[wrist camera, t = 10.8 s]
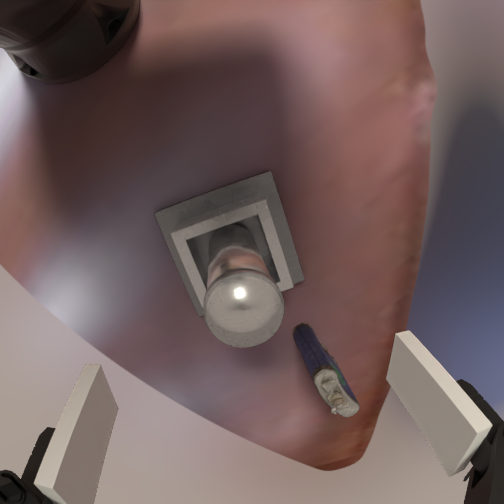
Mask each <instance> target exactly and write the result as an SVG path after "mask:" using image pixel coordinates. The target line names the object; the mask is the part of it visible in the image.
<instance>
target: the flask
mask: <svg viewBox="0 0 504 504" xmlns="http://www.w3.org/2000/svg"><path fill="white" fill-rule="evenodd" d="M293 336H294V340H295V342H296V344H297V347H299V350H300V351H301V354H302V356H303V358H304V361H305V363H306V365H307V368H308V370H309V372H310V374H311V377H312V380H313V382H314V385H315V387H316V389H317V391H318V393H319V395H320V396H321V398H322V399H323V400H324V402H325V403H326V404H327V405H328V406H329V407H331V408H332V409H331V413H334V414H336V412H337V413H338V414H340V415H342V416H344V417H349V416H352V415H354V414H355V413H356V412H358V410H359V409H360V406H359V403H358V401H357V399H356V397H355V396H354V394H353V392H352V391H351V389H350V387H349V385H348V383H347V381H346V380H345V378H344V376H343V374H342V372H341V370H340V368H339V367H338V364H337V362H336V361H335V360H334V357H333V356H332V357H331V356H330V354H329V353H328V351H327V349H326V347H325V346H324V345H323V344H322V343H320V342H319V338H317V337H316V334H315V332H314V331H313V329H312V327H311V326H310V325H309V324H303V323H301V324H300V325H298V326H296V327H295V328H294V330H293ZM335 411H336V412H335Z"/></svg>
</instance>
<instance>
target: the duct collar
mask: <svg viewBox="0 0 504 504" xmlns="http://www.w3.org/2000/svg"><path fill="white" fill-rule="evenodd" d="M154 214H155V217H156V219H157V222H158V224H159V227H160V229H161V231H162V234H163V236H164V239H165V241H166V244H167V246H168V248H169V251H170V253H171V255H172V258H173V260H174V262H175V265H176V267H177V269H178V272H179V274H180V276H181V278H182V281H183V283H184V285H185V287H186V290H187V292H188V294H189V296H190V298H191V301H192V303H193V305H194V307H195V309H196V312H197V314H198V316H199V317H200V316H203V302H204V296H205V293H206V291H207V280H208V259H209V244H210V240H211V238H212V236H213V235H214V233H215V232H216V231H217V230H219V229H220V228H222V227H224V226H228V225H237V226H241V227H243V228H245V229H246V230H248V231H249V232H250V233H251V235H252V236H253V238H254V241H255V243H256V245H257V247H258V250H259V252H260V254H261V257H262V259H263V261H264V263H265V266H266V268H267V270H268V272H269V275H270V277H271V278H272V279H273V280H274V281H275V283H276V284H277V286H278V287H279V289H280V292H282V291H284V290H287V289H290V288H293V287H294V286H293V284H296V283H299V282H301V281H304V276H303V273H302V269H301V266H300V263H299V259H298V256H297V253H296V249H295V246H294V243H293V239H292V236H291V233H290V229H289V226H288V223H287V220H286V217H285V213H284V210H283V207H282V204H281V201H280V198H279V194H278V191H277V188H276V185H275V182H274V179H273V176H272V173H271V171H267V172H264V173H261V174H258V175H255V176H252V177H249V178H247V179H244V180H241V181H238V182H235V183H232V184H229V185H226V186H224V187H221V188H218V189H215V190H212V191H210V192H207V193H204V194H201V195H199V196H196V197H193V198H191V199H188V200H185V201H183V202H180V203H177V204H175V205H172V206H170V207H167V208H165V209H162V210H159V211H157V212H155V213H154Z"/></svg>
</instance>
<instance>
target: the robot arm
mask: <svg viewBox="0 0 504 504" xmlns="http://www.w3.org/2000/svg"><path fill="white" fill-rule="evenodd" d="M139 5H140V1H139V0H0V47H1V48H3V49H4V50H5V51H6V52H7V54H8V55H9V57H10V58H11V59H12V61H13V62H14V63H15V65H16V66H17V67H18V69H19V70H20V71H21V72H22V73H24V74H25V75H27V76H28V77H30V78H33V79H36V80H39V81H42V82H45V83H51V84H60V83H66V82H71V81H74V80H77V79H80V78H82V77H84V76H86V75H88V74H90V73H92V72H93V71H95V70H97V69H98V68H99V67H101V66H102V65H103V64H105V63H106V62H107V61H108V60H109V59H110V58H112V57H113V56H114V55H115V54H116V52H117V51H118V50H119V49H120V48H121V47H122V45H123V44H124V43H125V41H126V40H127V38H128V37H129V35H130V33H131V32H132V30H133V28H134V25H135V23H136V20H137V17H138V13H139ZM386 379H387V381H388V382H389V384H390V385H391V387H392V388H393V390H394V391H395V392H396V394H397V396H398V397H399V399H400V400H401V402H402V403H403V405H404V407H405V408H406V410H407V411H408V413H409V414H410V416H411V417H412V419H413V420H414V422H415V423H416V425H417V427H418V428H419V430H420V431H421V432H422V434H423V436H424V438H425V439H426V441H427V442H428V444H429V445H430V447H431V449H432V450H433V452H434V453H435V455H436V457H437V458H438V460H439V461H440V463H441V465H442V466H443V468H444V469H445V471H446V473H447V474H448V476H449V477H450V476H452V475H454V474H456V473H458V472H460V471H462V470H464V469H465V467H466V466H467V465H468V463H469V462H470V461H471V463H472V464H473V467H472V468H471V470H470V471H469V472H468V474H467V475H466V476H465V478H464V481H466V480H467V479H468V478H469V482H468V487H467V491H466V496H465V500H464V504H504V421H503V420H502V419H501V418H500V417H499V415H498V414H497V413H496V412H495V411H494V410H493V409H492V408H491V406H490V405H489V404H488V403H487V402H486V401H485V400H484V399H483V397H482V396H481V395H480V394H478V392H477V390H476V389H475V388H474V387H473V386H472V385H471V384H469V383H468V382H466V381H464V380H462V379H461V380H458V381H455V380H454V379H453V378H452V377H451V376H450V375H449V373H448V372H447V371H446V370H445V369H444V368H443V367H442V365H441V364H440V363H439V362H438V361H437V360H436V359H435V358H434V357H433V356H432V355H431V354H430V352H429V351H428V350H427V349H426V348H425V347H424V346H423V345H422V344H421V342H420V341H419V340H418V339H417V338H416V337H415V336H414V335H413V334H412V333H411V332H410V331H405V332H400V333H396V334H395V340H394V345H393V350H392V355H391V359H390V364H389V368H388V373H387V377H386ZM117 411H118V406H117V404H116V402H115V399H114V397H113V394H112V392H111V390H110V387H109V385H108V382H107V380H106V377H105V375H104V372H103V369H102V367H101V365H100V364H86V365H85V367H84V369H83V371H82V373H81V375H80V377H79V379H78V381H77V383H76V385H75V387H74V389H73V391H72V393H71V396H70V398H69V400H68V402H67V404H66V406H65V409H64V411H63V413H62V415H61V417H60V420H59V422H58V424H57V426H56V428H50V427H47V428H46V429H45V430H44V431H43V432H42V433H41V434H40V436H39V438H38V440H37V442H36V444H35V447H34V449H33V451H32V455H31V456H30V458H29V460H28V463H27V465H26V468H25V470H24V473H23V475H22V478H21V479H20V478H19V477H18V476H17V475H16V474H15V473H13V472H12V471H8V470H3V471H0V504H94V501H95V496H96V492H97V488H98V483H99V479H100V475H101V471H102V466H103V463H104V458H105V455H106V451H107V447H108V444H109V440H110V436H111V433H112V429H113V425H114V422H115V418H116V415H117ZM469 476H470V477H469Z"/></svg>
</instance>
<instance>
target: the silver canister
mask: <svg viewBox="0 0 504 504" xmlns="http://www.w3.org/2000/svg"><path fill="white" fill-rule="evenodd" d="M284 307H285V306H284V300H283V296H282V294H281V292H280V289H279V287H278V286H277V284H276V283H275V281H274V280H273V279H272V278H271V277H270V275H269V272H268V270H267V268H266V266H265V263H264V261H263V259H262V257H261V254H260V252H259V250H258V247H257V245H256V243H255V241H254V238H253V236H252V235H251V233H250V232H249V231H248V230H246V229H245V228H243V227H241V226H237V225H228V226H224V227H222V228H220V229H219V230H217V231H216V232H215V233H214V235H213V236H212V238H211V240H210V244H209V259H208V280H207V291H206V293H205V296H204V302H203V316H204V320H205V322H206V325H207V326H208V328H209V329H210V331H211V332H212V333H213V335H214V336H215V337H216V338H217V339H219V340H220V341H221V342H223V343H225V344H227V345H230V346H234V347H252V346H256V345H259V344H261V343H263V342H265V341H267V340H268V339H270V338H271V337H272V336H273V335H274V334H275V333H276V331H277V330H278V329H279V327H280V325H281V322H282V318H283V315H284Z"/></svg>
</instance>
